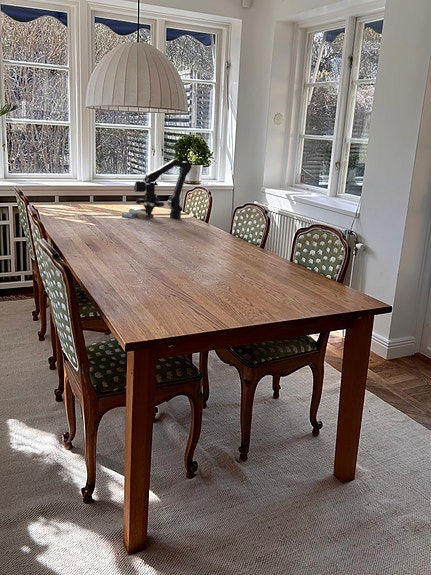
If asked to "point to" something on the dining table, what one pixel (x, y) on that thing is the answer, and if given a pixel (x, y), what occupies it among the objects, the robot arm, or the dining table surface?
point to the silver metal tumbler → (138, 211)
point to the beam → (143, 216)
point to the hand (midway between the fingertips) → (149, 215)
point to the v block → (129, 215)
